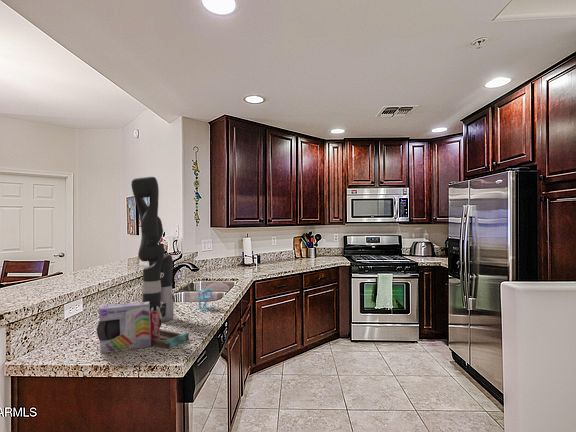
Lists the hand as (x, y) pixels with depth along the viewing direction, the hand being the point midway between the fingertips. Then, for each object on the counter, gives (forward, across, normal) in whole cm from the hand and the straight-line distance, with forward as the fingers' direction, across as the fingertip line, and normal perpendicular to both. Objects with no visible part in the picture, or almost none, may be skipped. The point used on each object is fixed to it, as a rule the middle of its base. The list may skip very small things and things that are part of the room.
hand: (151, 329), depth 149 cm
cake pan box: (+4, +13, 0) cm, 14 cm away
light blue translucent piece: (+4, -48, -14) cm, 50 cm away
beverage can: (+4, 0, 0) cm, 4 cm away
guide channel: (+4, 0, +6) cm, 7 cm away
